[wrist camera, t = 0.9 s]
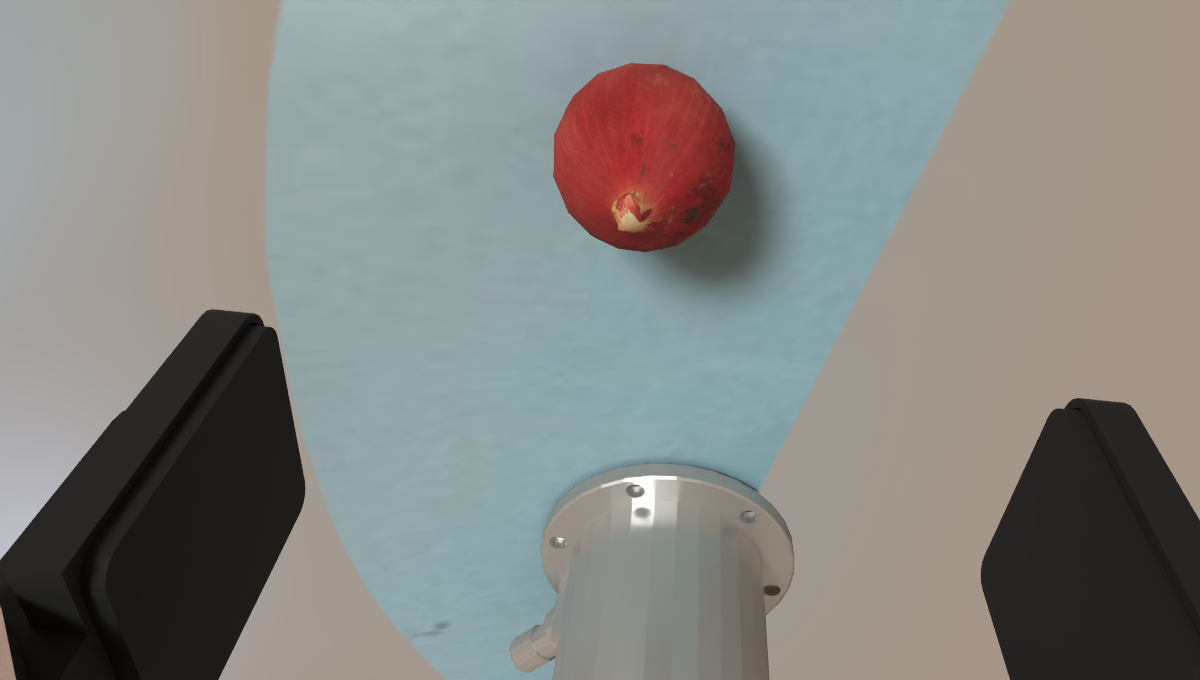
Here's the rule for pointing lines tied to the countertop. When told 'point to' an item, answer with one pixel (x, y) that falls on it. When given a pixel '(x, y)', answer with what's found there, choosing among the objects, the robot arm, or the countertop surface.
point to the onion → (643, 157)
